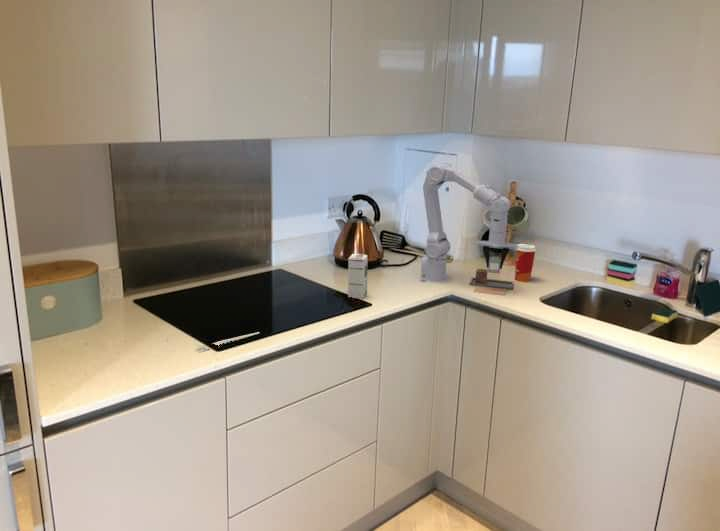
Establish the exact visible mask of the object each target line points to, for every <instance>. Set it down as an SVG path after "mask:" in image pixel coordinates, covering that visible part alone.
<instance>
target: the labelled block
mask: <svg viewBox="0 0 720 531" xmlns="http://www.w3.org/2000/svg"><path fill="white" fill-rule="evenodd" d="M500 264H501V256H500V257H499V256H491V255H490V256H489V267H488V268H487V270H488V273H487V274H489V273H491V274H500V272H501V269H500Z"/></svg>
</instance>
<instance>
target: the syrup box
mask: <svg viewBox="0 0 720 531" xmlns="http://www.w3.org/2000/svg"><path fill="white" fill-rule="evenodd" d="M368 259H369V258H368V254H366V253H365V254H364V253H351V254H350V256H349V257H348V259H347V260H348V261H347V262H348V265H347V266H348V267H347V269H348V271H347V272H348V276H347V279H348V280H347V284H348V285H347V286H348V287H347V297H348V298H350V297H352V298H351V299H359V298H360V299H363V300H364V299H365V297H367V295H368V266H369V265H368Z"/></svg>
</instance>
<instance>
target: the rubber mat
mask: <svg viewBox="0 0 720 531" xmlns="http://www.w3.org/2000/svg"><path fill="white" fill-rule="evenodd" d="M506 291H507V289H500V288H491V287H483V286H475V287H474V290H473V292H474V293H479V294H489V295H495V296H496V295H497V296H504V297H505V296H506Z"/></svg>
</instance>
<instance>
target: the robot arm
mask: <svg viewBox="0 0 720 531" xmlns="http://www.w3.org/2000/svg"><path fill="white" fill-rule="evenodd" d="M425 173H426V174H425V175H426V176H425V180H424V182H423V185H422V192H423V198H424V206H425V213H426V214H425V215H426V221H427V228H428V235H427V238H426V246H425V253H426V255H423V256H422V258H421V265H420V267H421V268H420V279H419V280H420V281H421V282H434V283H441V284H444V283H446V281H447V279H448V276H447V264H448V263H447V262H448V253H449V252H450V250H451V243H450V242H449V240H448V237H447V233H445V231H444V227H443V219H442V210H441V205H440V197H439V195H440V194H439V189H440V188H441V187H442V186H443V184H445V183H448V182H451V183H452V182H454V183H456V184H457V185H460V186H461V187H463V188H465V189H466V190H468V191H469V192H471V193H472V195H473V198H474V199H476V201H478V202H480V203H481V204H482V205H484V206H485V207H487V208H488V209H489V211H490V215H491V216H490V223H489V224H490V225H489V233H488V234H489V235H488V240H476V241H475V248H479V247H480V248H482V252H483V255H484V257H485V262H486V268H487V269H488V267H489V258H490V256H491V255H490V253H491V249H501V256H500V257H501V264H500V270H502V269H503V265H504V262H505V260H506V258H507V257H508V255H509V253H510V250H511V251H515V252H516V251H517V245H518V243H511V242H506V236H507V225H508V215H509V214H508V213H509V212H508V211H509V210H510V209H511V206H512V205H511V200H510V199H509V198H508V197H507V196H505V195H501V193H499V192H496V191H494V190H493V189H492V188H490V185H489V184H486V185H485V184H478V183H476V182H475V181H474V180H473V179H471V178H470V177H468V176H467V175H466V174H464V173H463V172H462V171H460V170H459V169H458V168H457V167H456V166H453V165H451V163H447V162H443V163H440V164H434V165H431V167H430V168H429V169H427V171H426V172H425Z"/></svg>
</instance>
